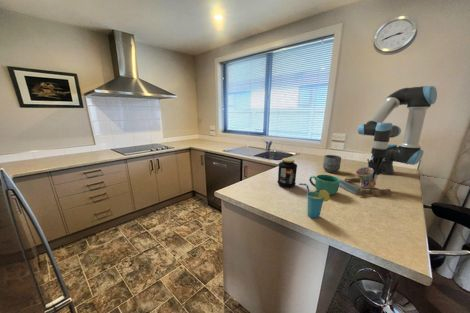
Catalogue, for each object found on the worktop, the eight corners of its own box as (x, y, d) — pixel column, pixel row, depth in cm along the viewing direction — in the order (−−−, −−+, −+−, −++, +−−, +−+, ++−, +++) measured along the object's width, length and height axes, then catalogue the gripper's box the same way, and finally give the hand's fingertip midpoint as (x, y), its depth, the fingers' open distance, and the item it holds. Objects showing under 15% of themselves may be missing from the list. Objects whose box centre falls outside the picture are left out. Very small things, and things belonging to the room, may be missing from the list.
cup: (293, 213, 87) (296, 184, 84) (298, 207, 93) (301, 179, 90) (325, 224, 79) (330, 192, 76) (328, 216, 85) (333, 186, 82)
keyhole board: (359, 181, 129) (360, 175, 128) (389, 194, 108) (391, 187, 107) (333, 183, 124) (334, 177, 123) (360, 197, 104) (361, 190, 103)
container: (299, 184, 122) (300, 158, 118) (290, 190, 113) (292, 162, 109) (282, 180, 130) (283, 156, 126) (273, 185, 121) (274, 159, 117)
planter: (339, 170, 152) (341, 156, 149) (338, 174, 142) (340, 159, 139) (323, 168, 158) (325, 154, 155) (321, 172, 148) (323, 157, 145)
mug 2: (379, 187, 110) (376, 173, 107) (361, 190, 114) (358, 176, 111) (372, 177, 120) (369, 163, 117) (356, 180, 124) (352, 167, 121)
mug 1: (340, 192, 111) (342, 177, 108) (333, 199, 102) (336, 183, 100) (312, 185, 122) (314, 171, 120) (304, 190, 113) (306, 176, 111)
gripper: (382, 146, 117) (375, 180, 123) (365, 147, 114) (359, 182, 120) (394, 148, 110) (386, 185, 116) (376, 149, 107) (369, 186, 113)
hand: (372, 183), depth 118 cm, fingers closed
